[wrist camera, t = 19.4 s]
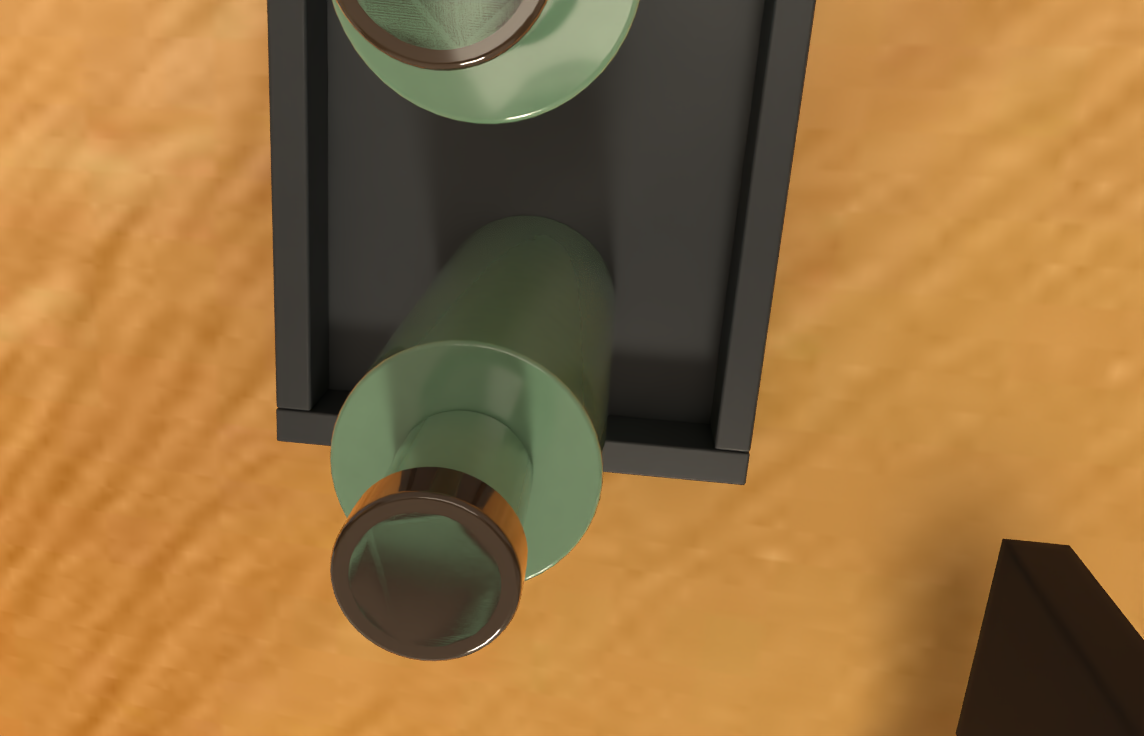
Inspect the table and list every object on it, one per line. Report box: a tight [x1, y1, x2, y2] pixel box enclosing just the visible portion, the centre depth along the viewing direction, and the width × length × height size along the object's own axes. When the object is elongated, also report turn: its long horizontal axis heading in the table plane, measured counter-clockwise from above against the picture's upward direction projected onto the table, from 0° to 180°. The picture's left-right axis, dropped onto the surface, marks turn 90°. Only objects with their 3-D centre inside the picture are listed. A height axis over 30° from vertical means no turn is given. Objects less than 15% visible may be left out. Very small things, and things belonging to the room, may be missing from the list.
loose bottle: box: [330, 215, 616, 661], centre depth 18 cm, size 4×4×12 cm
